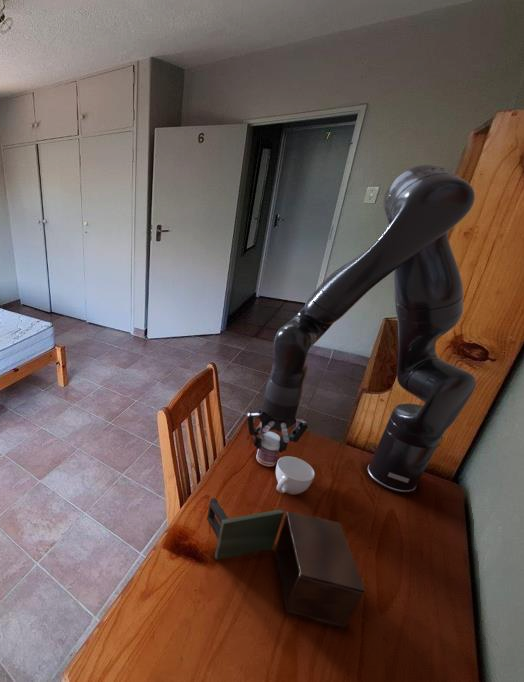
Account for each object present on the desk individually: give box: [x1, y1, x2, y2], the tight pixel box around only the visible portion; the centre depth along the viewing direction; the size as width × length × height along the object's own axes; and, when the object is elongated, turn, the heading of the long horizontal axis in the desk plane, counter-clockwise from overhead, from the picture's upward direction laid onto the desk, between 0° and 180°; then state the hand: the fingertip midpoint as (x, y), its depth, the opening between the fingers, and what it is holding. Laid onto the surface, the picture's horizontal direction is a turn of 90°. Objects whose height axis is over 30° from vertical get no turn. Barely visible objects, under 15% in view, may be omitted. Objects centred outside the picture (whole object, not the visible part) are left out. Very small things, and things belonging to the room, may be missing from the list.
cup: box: [275, 455, 316, 496], centre depth 87 cm, size 8×10×7 cm
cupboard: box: [274, 511, 366, 630], centre depth 67 cm, size 9×13×12 cm
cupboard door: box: [206, 497, 285, 561], centre depth 76 cm, size 7×13×11 cm, turn 99°
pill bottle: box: [255, 431, 281, 467], centre depth 96 cm, size 5×5×8 cm
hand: (268, 448), depth 95 cm, fingers closed on pill bottle, 4 cm apart
